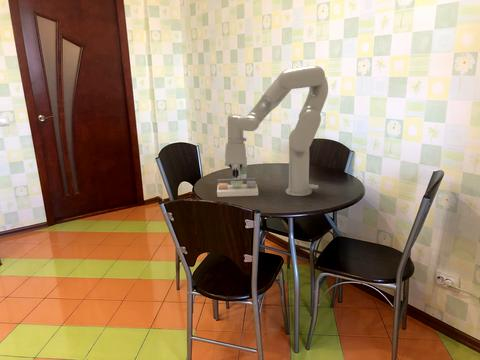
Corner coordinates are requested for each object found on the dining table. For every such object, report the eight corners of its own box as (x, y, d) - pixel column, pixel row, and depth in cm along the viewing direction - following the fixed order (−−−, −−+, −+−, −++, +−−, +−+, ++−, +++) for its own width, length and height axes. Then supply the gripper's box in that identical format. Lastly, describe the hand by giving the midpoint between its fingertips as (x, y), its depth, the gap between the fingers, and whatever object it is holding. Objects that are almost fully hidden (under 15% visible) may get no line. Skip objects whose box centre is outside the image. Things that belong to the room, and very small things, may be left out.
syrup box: (240, 180, 210) (239, 155, 206) (247, 182, 206) (247, 156, 202) (232, 182, 206) (231, 156, 202) (240, 184, 202) (239, 158, 198)
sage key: (241, 183, 190) (241, 181, 189) (242, 186, 185) (241, 183, 185) (232, 184, 190) (232, 181, 189) (232, 186, 185) (232, 183, 185)
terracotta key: (227, 185, 190) (227, 183, 189) (227, 188, 185) (227, 185, 185) (218, 186, 190) (218, 183, 189) (218, 188, 185) (218, 185, 185)
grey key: (255, 183, 190) (255, 180, 190) (256, 186, 186) (256, 183, 185) (246, 183, 190) (246, 180, 189) (246, 186, 185) (246, 183, 185)
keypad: (256, 187, 196) (255, 178, 195) (258, 195, 183) (258, 185, 182) (217, 188, 196) (217, 179, 195) (217, 196, 182) (216, 186, 181)
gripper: (250, 139, 186) (250, 175, 190) (220, 139, 185) (220, 175, 190) (251, 141, 178) (251, 179, 183) (219, 142, 178) (220, 179, 183)
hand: (235, 177), depth 187 cm, fingers closed
